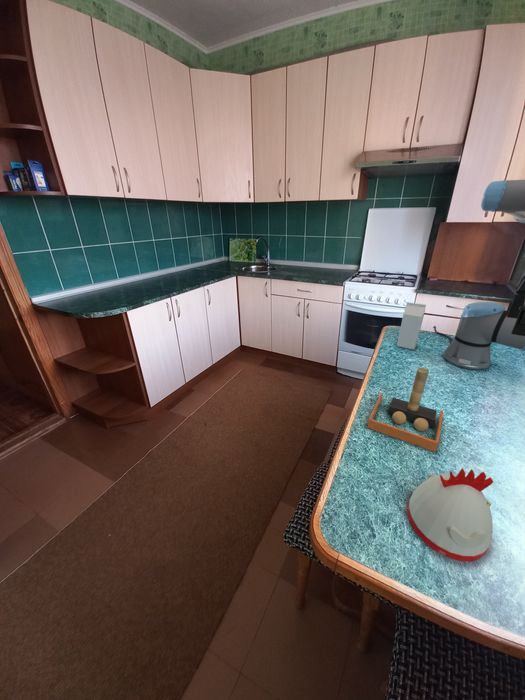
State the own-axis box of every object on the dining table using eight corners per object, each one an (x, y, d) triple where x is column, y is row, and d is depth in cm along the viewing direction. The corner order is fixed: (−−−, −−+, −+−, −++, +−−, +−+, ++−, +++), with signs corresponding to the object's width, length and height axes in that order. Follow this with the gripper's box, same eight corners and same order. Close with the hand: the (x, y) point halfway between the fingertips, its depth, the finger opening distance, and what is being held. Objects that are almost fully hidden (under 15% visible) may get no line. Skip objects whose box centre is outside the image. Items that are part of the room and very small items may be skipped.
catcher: (379, 400, 93) (381, 392, 92) (440, 418, 85) (443, 410, 83) (367, 427, 82) (368, 419, 81) (435, 452, 74) (438, 443, 72)
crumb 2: (415, 418, 83) (416, 414, 80) (429, 422, 81) (431, 419, 79) (411, 429, 82) (412, 426, 79) (425, 434, 80) (427, 431, 77)
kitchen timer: (503, 568, 51) (539, 514, 44) (418, 554, 53) (440, 500, 46) (467, 496, 63) (491, 445, 56) (400, 487, 65) (415, 437, 58)
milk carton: (414, 350, 123) (424, 307, 114) (396, 346, 127) (405, 304, 118) (416, 343, 128) (427, 302, 120) (399, 340, 132) (408, 300, 123)
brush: (391, 405, 91) (401, 360, 84) (434, 418, 85) (449, 372, 78) (387, 414, 87) (397, 368, 80) (432, 428, 81) (447, 380, 74)
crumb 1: (393, 415, 86) (395, 407, 84) (406, 420, 84) (408, 411, 82) (390, 423, 84) (392, 415, 82) (403, 428, 82) (405, 419, 80)
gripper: (522, 235, 79) (495, 309, 89) (537, 247, 60) (501, 339, 70) (559, 236, 75) (526, 313, 85) (587, 250, 57) (541, 346, 67)
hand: (515, 325), depth 78 cm, fingers open, 13 cm apart
